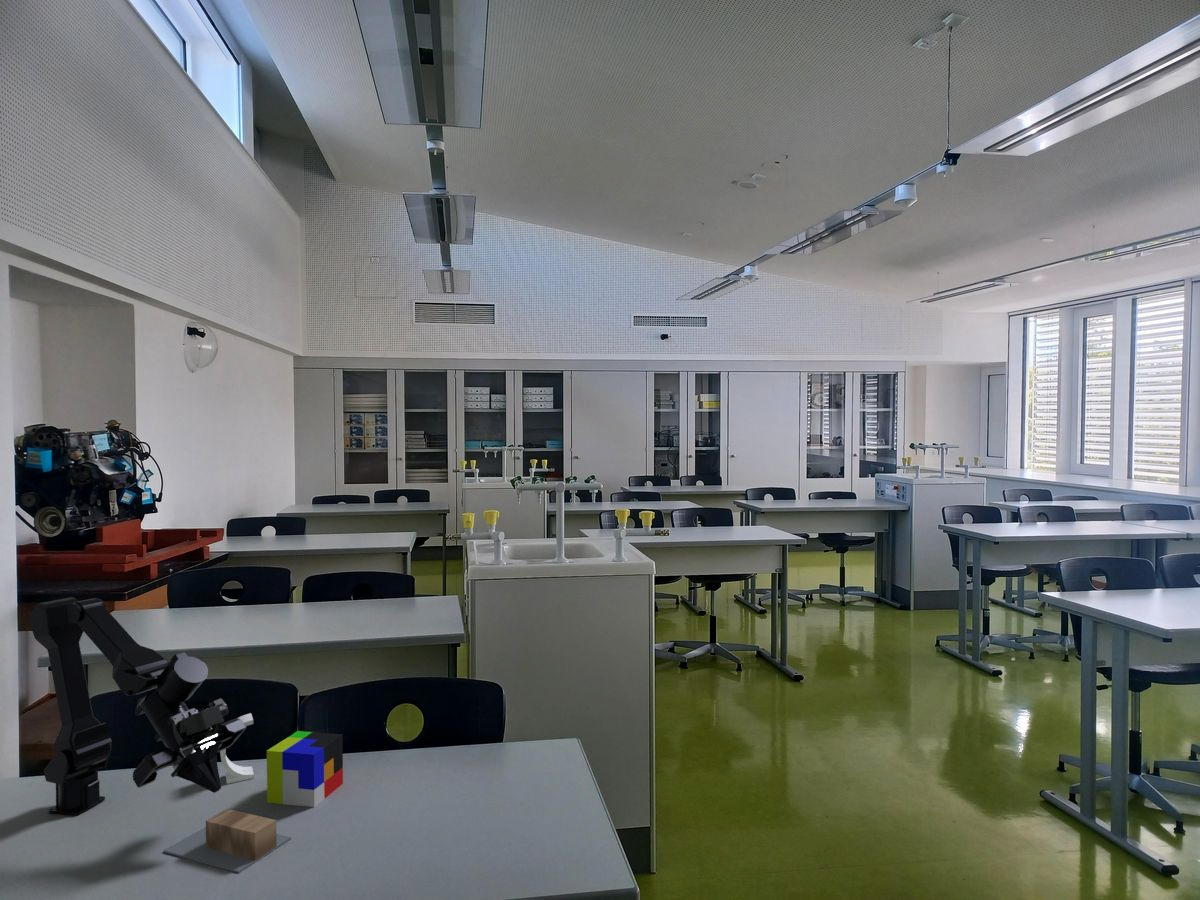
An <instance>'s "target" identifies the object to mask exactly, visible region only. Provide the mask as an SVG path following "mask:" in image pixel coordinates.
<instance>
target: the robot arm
mask: <svg viewBox="0 0 1200 900" xmlns="http://www.w3.org/2000/svg"><path fill="white" fill-rule="evenodd" d="M28 624H29V626H30V628H31V630H32V634H33V637H34V639H35V640H36V642H38V643H39V644H40V645H41V646H43V648H45V649H46V650H47V653H48V659H49V663H50V665H49V666H50V670H51V676H52V680H53V681H52V682H53V687H54V692H55V696H56V701H57V707H58V712H59V718H60V723H61V726H60V728H59V731H58V734H57V736H56V738H55V741H54V744H53V745H54V756H53V757H52V759H51V760H50V761H49V762H48V763H47V765H46V767H45V768H44V769H43V776H44V778H45V781H46V782H48V783H52V784H55V806H53V807H51V808H49V809H48V813H49V814H59V815H70V816H79V815H81V814H82V813H85V812H86V811H88V810H89V809H91V808H92V807H94V806H97V805H98V804H99V803H102V802H103V801H105V800H106V796H101V794H100V780H99V771H98V770H101V769H103V768H106V767H107V766H108V763H109V758H110V755H111V751H112V746H113V745H112V743H113V741H112V740H113V739H111V735H110V727H109V724H107V722H106V721H105V722H102V723H101V722H100V721H99V720H98V719H97V718H96V717H95V716H94V713H93V709H92V703H91V698H90V692H89V688H88V686H89V685H88V682H87V677H86V671H85V666H84V662H83V657H82V650H81V645H80V641H81V638H82V637H83V634H84V633H85V635H86V636H87V638H89V640H91V642H93V644H94V645H95V646H96V647H97V648H98V650H99V651H100V652H101V653H102V654H103V655H104V657H105V658H106V659H107V660H108V661H109V663H110V664H111V666H112V679H113V680H114V682H115V684H116V685H117V687H118V688H119V690H120V691H121V693H123V694H124V695H125V696H137V695H139V694H142V693H145V692H147V691H148V692H147V694H146V695H145V696H144V697H141V698H138V700H137V706H136V707H135V711H134V712H135V716H140V715H143V714H145V716H146V717H147V719H148V720H149V722H150V723H151V725H152V726H153V728H154V730H155V731H156V734H155V735H154V736H153V739H154V740H155V741H156V743H157V742H160V741H162V743H163V744H164V746H165V747H163V748H160V749H158V750H155V751H153V752H151V753H148V754H146V755H145V756H144V757H143V759H142V760H141V761H140V763H139V764H138V765H137V766H136V767H135V769H134V770H133V772H132V779H133V783H135V785H136V786H137V788H139V789H140V788H142V787H144V786H146V785H148V784H151V783H154V782H155V781H156V779H157V776H158V772H159V771H160V770H162V769H165V768H168V767H169V766H172V769H173V772H172V773H171V774H170V777H172V778H176V777H177V778H181V779H183V780H186V781H188V782H192V783H193V784H196V785H198V786H200V787H201V788H204V789H205V790H208V791H210V792H212V793H213V794H215V793H217V792H219V791H220V790H221V789H222V785H221V780H220V779H221V778H220V772H219V767H218V753H220V751H222V750H224V749H226V750H227V749H228V748H230V747H232V746H233V745H234V744H235V742H236V741H237V740H238V739H239V738H240V737H241V736H242V734H243V733H244V732H245V730H246V729H247V726H245V725H244V723H243V722H242V720H241V719H237V718H233V719H231V720H228V721H226V722H225V720H224V717H226V716H227V715H229V708H228V705H227V704H226V702H225V701H224V700H223V699H222V698H219V699H215V700H213V701H212V702H209V703H207V708H206V709H203V710H201V711H199V710H198V709H196V708H195V707H194V708H191V709H189V708H188V706H187V705H186V703H185V702H186V701H188V700H189V699H191V697H192V696H193V695H194V693H195V692H196V691H197V689H198V688H200V686H201V685H202V684H203V682H205V680H206V679H207V678H208V675H209V668H208V666H207V664H206V662H204V661H202V660H201V659H199V658H198V657H195V656H189V655H187V653H186V651H182V652H178V653H175V654H174V655H173V656H172V657H171V659H170V661H168V660H166V658H164V657H163V656H162V655H161V654H160V653H158V652H157V651H156V650H155V649H153V648H149V647H146V646H142V645H140V644H139V643H138V642H137V641H135V639H134V638H133V637H132V636H131V635H130V634H129V633H128V631H127V630H126V629H125V628H124V627H123V626H122V625H121V624H120V623H119V621H118V620H117V619H116V618H115V617H114V616H113V615H112V613H110V611H108V609H107V607H106V603H105V601H104V599H101V598H97V597H96V598H95V597H93V598H89V599H85V600H79V599H77V598H76V597H67V598H62V599H61V598H60V599H56V600H51V601H50V600H49V601H45V602H40V603H37V604H35V606H34V607H33V609H32V610H31V611H30V613H29V614H28ZM218 724H219V725H218ZM214 725H218V726H217V728H215V730H214V731H213V733H212V734H211V735H209V736H207V735H208V734H210V733H211V731H212V730H213V728H212V727H213V726H214Z"/></svg>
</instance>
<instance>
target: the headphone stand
mask: <svg viewBox="0 0 1200 900" xmlns="http://www.w3.org/2000/svg"><path fill="white" fill-rule="evenodd" d="M236 719H241V720H242V722H243V723H244V725H245V726H246V727H247V726H251V725H254V718H253V715H252V713H251V712H250V713H247V714H244V715H240V716H239V717H237V718H236ZM226 752H227V748H226V749H224V750H222V751H219V753H220V760H221V764H222V766H223V768H224V769H225V774H224V775H225V780H226V784H227V785H229V784H233V783H238V782H242V781H243V782H244V781H247V780H252V779H255V774H254V769H253V766H241V765H237V764H235V763H234V762H232V761H231V760H230V759H229V757H227V753H226Z"/></svg>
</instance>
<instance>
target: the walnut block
mask: <svg viewBox="0 0 1200 900" xmlns="http://www.w3.org/2000/svg"><path fill="white" fill-rule="evenodd" d="M205 827H206V848H210V849H213V850H217V851H221V852H225V853H229V854H232V855H236V856H240V857H244V858H248V859H251V860H257V859H258V858H260V857H261V856H263V855H264V854H266V853H268V852H269V851H271V850H272V849H274V848H275V847H277V839H276V834H277V819H274V818H273V819H272V818H268V817H265V816H260V815H256V814H252V813H248V812H244V811H239V810H234V809H231V808H227V809H225V810H223V811H222V812H220V813H218V814H216V815H214V816H212V817H210V818H208V819H207V820H205Z"/></svg>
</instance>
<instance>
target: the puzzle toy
mask: <svg viewBox="0 0 1200 900" xmlns="http://www.w3.org/2000/svg"><path fill="white" fill-rule="evenodd" d="M343 745H344V744H343V734H342V733H341V734H339V733H330V732H329V733H328V732H327V733H326V732H319V731H318V732H316V731H314V732H313V731H303V730H302V731H301V730H297V731H295V732H294V733H292V734H291V735H290V736H287V737H286V738H285V739H283V740H281V741H280V742H278V743H277V744H275V745H273V746H272V747H270V748H269V749H267V750H266V792H267V793H266V803H269V804H281V805H287V806H289V805H290V806H297V807H298V806H299V807H309V808H315V807H316V806H318V805H319V804H320V803H321V802H323V801H324V800H325V799H327V797H328V796H330V795H331V794H332V793H334V792H335V791H336V790H338V788H339V787H341V786H342V785H343V784H344V764H343V763H344V761H343V757H344V755H343V750H344V749H343Z"/></svg>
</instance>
